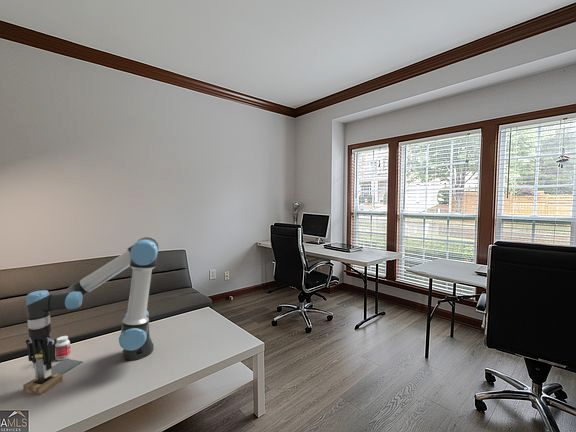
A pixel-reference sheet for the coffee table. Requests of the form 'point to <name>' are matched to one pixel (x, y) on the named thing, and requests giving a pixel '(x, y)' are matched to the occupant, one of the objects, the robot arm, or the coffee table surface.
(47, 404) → the coffee table surface
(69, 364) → the rubber mat
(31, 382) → the block
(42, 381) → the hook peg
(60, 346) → the pill bottle
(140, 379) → the coffee table surface
